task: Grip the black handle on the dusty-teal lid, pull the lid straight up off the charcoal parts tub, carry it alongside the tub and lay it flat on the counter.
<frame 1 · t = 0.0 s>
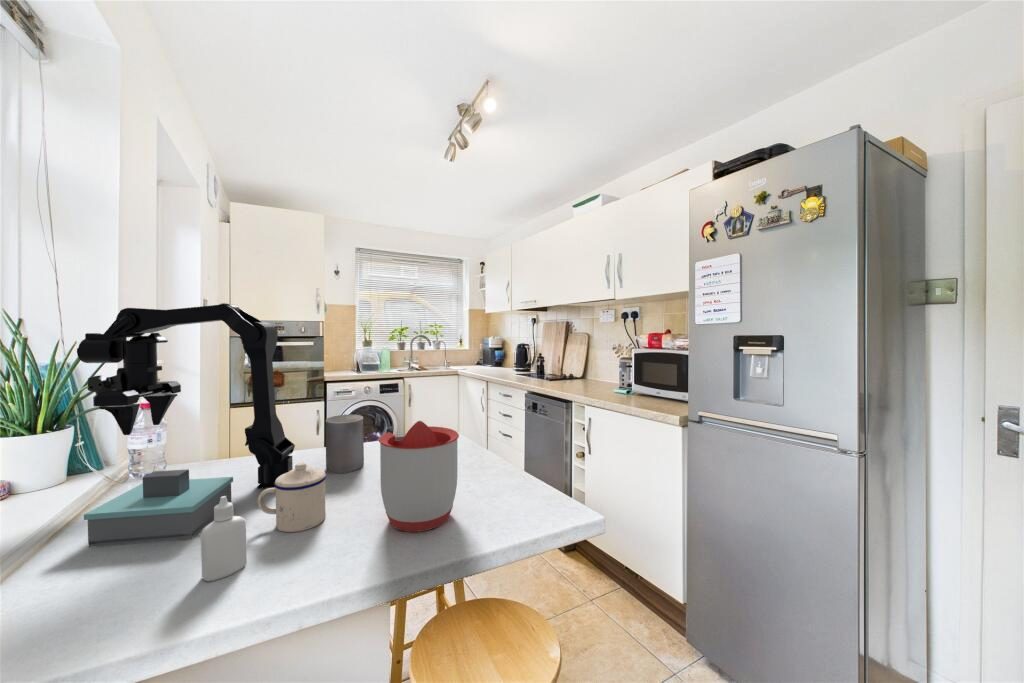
hand: (142, 429, 91), 15 cm above the worktop, fingers open, 9 cm apart
tub: (167, 523, 77), on the worktop
eye dropper bottle: (224, 573, 62), on the worktop
pill bottle: (400, 483, 98), on the worktop
pillar candle: (345, 468, 109), on the worktop
lid: (167, 498, 77), point 5 cm above the worktop, touching tub
citrus juicer: (417, 518, 80), on the worktop
teacup with lid: (293, 523, 78), on the worktop
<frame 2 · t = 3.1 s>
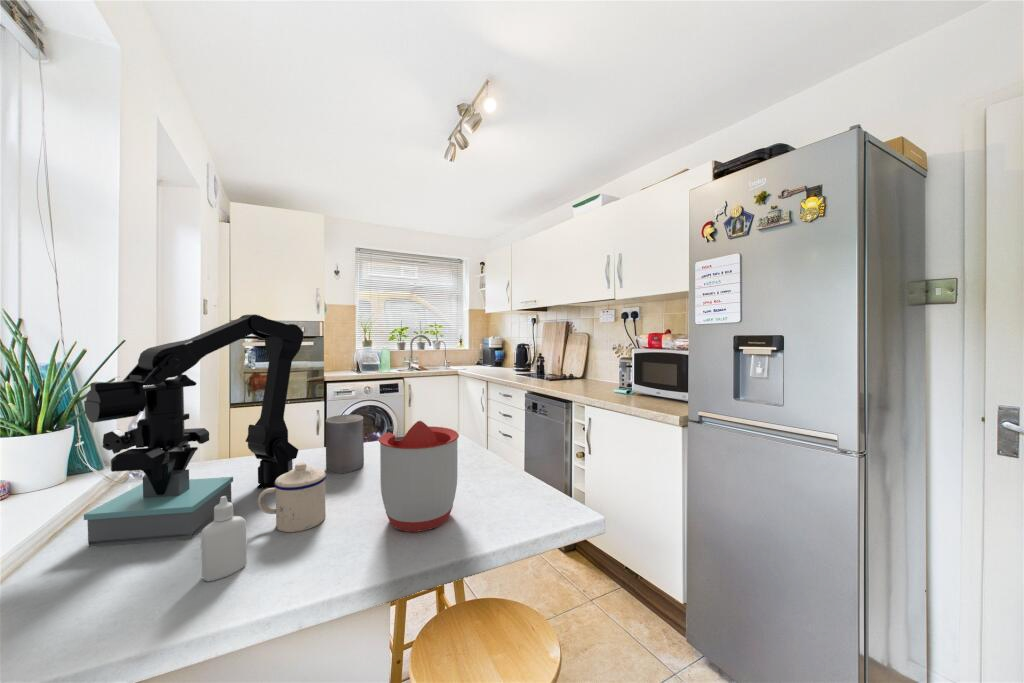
hand: (166, 490, 77), 7 cm above the worktop, fingers closed on lid, 3 cm apart
lid: (167, 498, 77), point 5 cm above the worktop, touching gripper, tub
everything else where it was.
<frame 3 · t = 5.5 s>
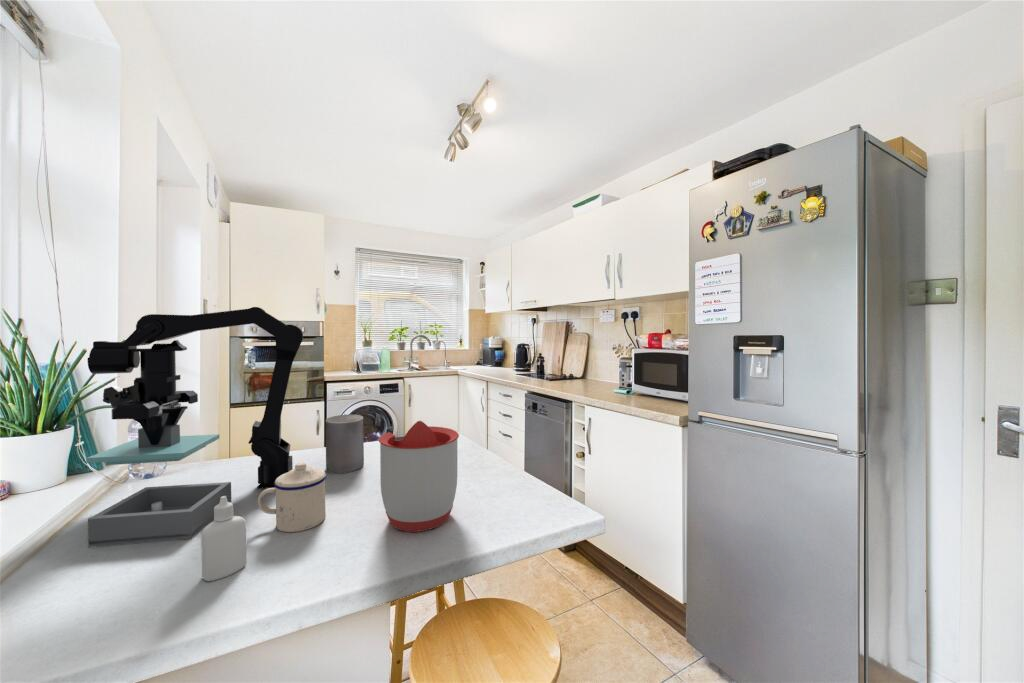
hand: (160, 442, 87), 13 cm above the worktop, fingers closed on lid, 3 cm apart
lid: (159, 449, 87), point 12 cm above the worktop, touching gripper
everything else where it was.
when the fingers open (4 cm above the worktop, at t = 8.3 s): lid drops 2 cm, point 1 cm above the worktop.
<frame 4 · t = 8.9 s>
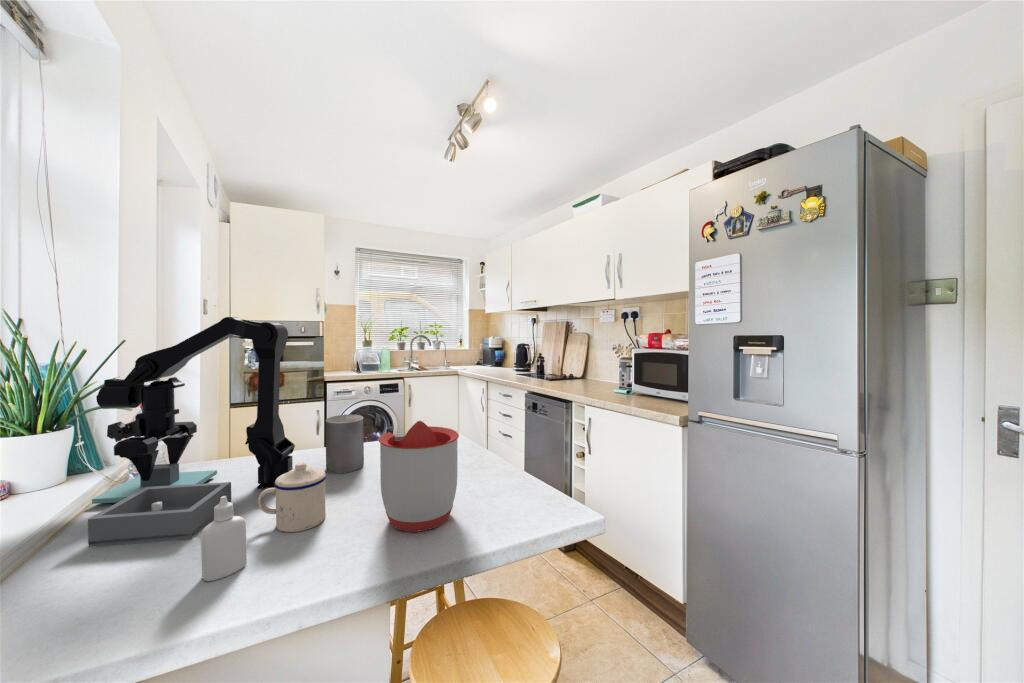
hand: (160, 473, 92), 4 cm above the worktop, fingers open, 9 cm apart
lid: (160, 487, 93), point 1 cm above the worktop
everything else where it was.
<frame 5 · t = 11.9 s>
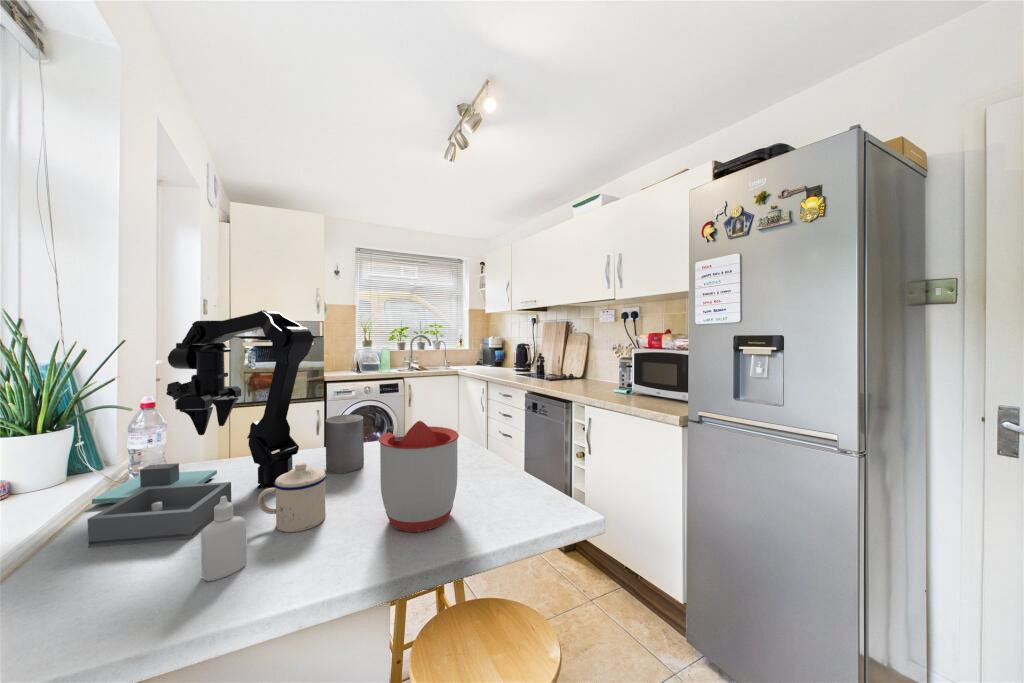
hand: (211, 430, 101), 12 cm above the worktop, fingers open, 9 cm apart
nothing on the worktop moved.
at the end: lid touching worktop; lid inside the target area (0.0 cm from its centre), point 0.8 cm above the worktop; lid tilted 0° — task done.
